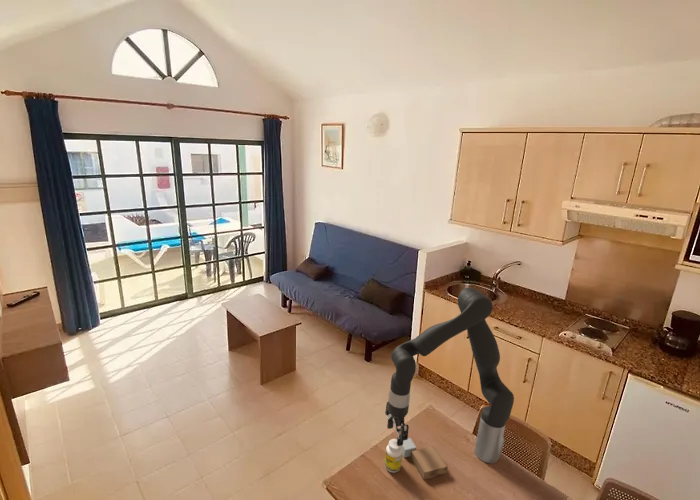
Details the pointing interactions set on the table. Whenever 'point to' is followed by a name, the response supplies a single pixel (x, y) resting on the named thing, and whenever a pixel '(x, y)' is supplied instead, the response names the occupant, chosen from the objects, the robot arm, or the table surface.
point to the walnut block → (429, 462)
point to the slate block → (408, 447)
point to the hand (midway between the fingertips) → (394, 436)
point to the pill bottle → (393, 456)
